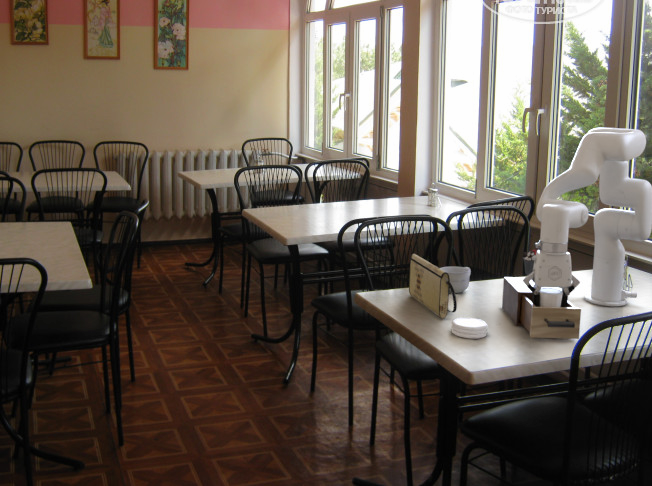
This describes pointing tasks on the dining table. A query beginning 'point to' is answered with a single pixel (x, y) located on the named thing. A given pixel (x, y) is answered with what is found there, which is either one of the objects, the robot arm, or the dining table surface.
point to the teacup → (458, 277)
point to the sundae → (529, 261)
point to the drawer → (550, 320)
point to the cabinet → (515, 297)
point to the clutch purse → (430, 286)
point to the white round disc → (469, 328)
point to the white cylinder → (550, 297)
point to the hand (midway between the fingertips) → (549, 306)
